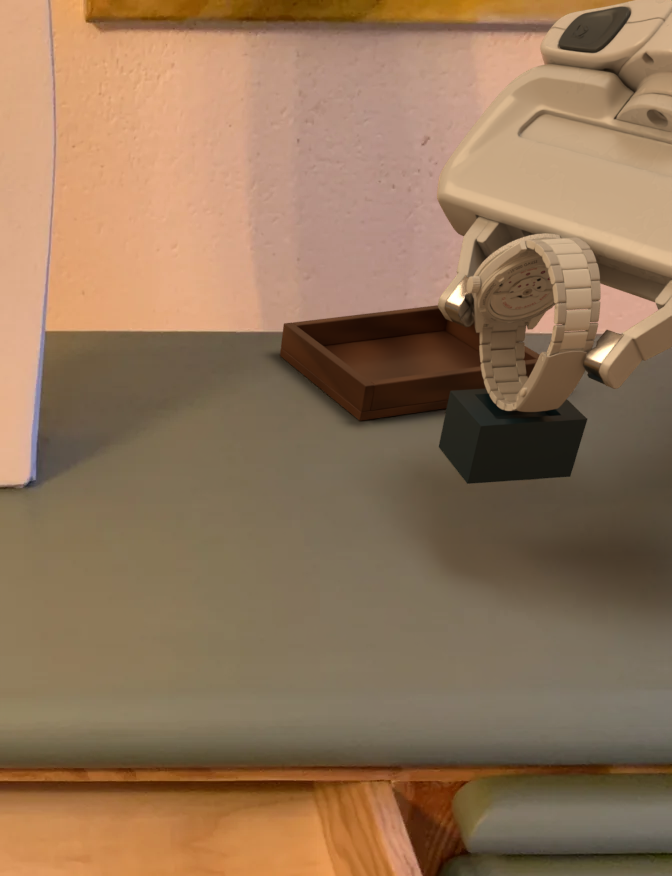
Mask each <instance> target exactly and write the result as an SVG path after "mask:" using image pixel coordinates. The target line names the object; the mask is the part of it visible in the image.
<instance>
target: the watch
mask: <svg viewBox="0 0 672 876" xmlns="http://www.w3.org/2000/svg"><path fill="white" fill-rule="evenodd" d="M599 280H600V274H599V268H598V264H597V263H596V258H595V256H594V253H593V251H592V250H590V247H589V245H588V244H587V243H586V242H584V241H582V240H581V239H579V238H576V237H574V238H560V236H559V235H557V234H556V235H555V234H548V233H547V234H546V233H545V234H543V233H542V234H534V235H529V236H526V237H523V238H520V239H517V240H515V241H512V242H510V243H508V244H506V245H504V246H502V247H501V248H499V249H498V250H497V251H495V252H494V253H492V254H491V255H490V256H489V257H488V258H486V260H484V262H482V264H481V265H480V266H479V268H478V269H477V270H476V272H475V274H474V276H471V277H469V279H468V281H467V291H468V293H472V295H473V298H474V320H475V330H476V333H479V332H480V344H484V345H480V346H479V350H480V362H481V371H482V376H483V379H484V384H485V387H486V389H471V390H455V391H450V395H449V399H448V404H447V408H445V415H444V419H443V424H442V428H441V429H442V430H441V433H440V439H439V442H438V448H439V450H440V452H442V453H443V455H444V457H445V458H446V459H447V460H448V461H449V462H450V464H451V466H453V468H455V471H457V472H458V475H460V476H461V478H462V479H463V480H464V482H465V483H466V484H467V485H468V484H469V485H472V484H473V485H474V484H488V483H503V482H513V481H514V482H515V481H530V480H531V481H532V480H545V479H561V478H571V477H572V473H573V469H574V467H575V464H576V460H577V456H578V452H579V450H580V446H581V442H582V440H583V435H584V432H585V429H586V426H587V423H588V418H587V417H586V416H585V414H583V413H582V412H581V411H580V410H579V409H578V408H577V407H576V406H574V404H573V403H572V402H570V401H569V399H568V398H569V397H570V396H571V394H572V393H573V392H574V391H575V389H576V387H577V386H578V384H579V383H580V381H581V380H582V378H583V376H584V374H585V372H586V370H585V369H584V367H583V361H584V358H585V356H586V354H587V353H588V352H589V351H590V350H591V349H593V348H594V344H595V339H596V337H597V332H598V328H599V320H600V314H601V297H602V296H601V295H602V293H601V284H600V281H599ZM553 307H554V308H553ZM551 309H554V311H553V312H554V313H553V316H554V317H553V323H554V325H553V327H552V331H551V339H550V342H549V345H548V347H547V350H546V351H541V352H540V354H539V355H540V356H539V358H538V360H537V362H536V364H535V367H534V369H533V371H532V372H531V374H530V376H529V378H528V377H527V376H526V366H525V361H524V360H523V359H524V356H525V346H526V343H525V342H524V341H525V340H526V332H527V330H533V329H534V328H536V327H537V325H539V322H540V321H541V320H542V318H543V317H544V315H545V314H546V313H547V312H548V311H549V310H551ZM516 342H517V343H516ZM496 349H506V350H496Z"/></svg>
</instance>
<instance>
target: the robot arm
mask: <svg viewBox="0 0 672 876" xmlns="http://www.w3.org/2000/svg"><path fill="white" fill-rule="evenodd" d="M539 51H540V54H541V57H542V62H543V64H542V65H537V66H534V67H532V68H529V69H528V70H526V71H524V72H523V73H521V74H519V75H518V76H517V77H515V78H514V79H513V80H511V82H509V84H508V85H507V86H505V88H504V89H502V90H501V92H500V93H499V94H498V95H497V96H496V97H495V99H494V100H493V101H492V102H491V103H490V104H489V106H487V108H486V109H485V110H484V112H483V113H482V114H481V116H479V118H478V119H477V120H476V122H475V123H474V124H473V126H472V127H471V128H470V129H469V131H468V132H467V133H466V134H465V136H464V137H463V138H462V140H461V142H460V143H458V145H457V147H456V148H455V149H454V151H453V152H452V154H451V155H450V157H449V158H448V159H447V161H446V162H445V164H444V166H443V167H442V169H441V171H440V173H439V175H438V182H437V186H436V187H437V189H436V200H437V202H438V204H439V206H440V208H441V210H442V212H443V214H444V215H445V217H446V219H447V221H448V222H449V224H450V225H451V227H452V229H453V230H454V232H456V233H457V234H458V235H460V236H462V237H463V238H462V244H461V247H460V253H459V258H458V262H457V267H456V275H455V277H454V278H453V279H452V280H451V281H450V283H449V284H448V286H447V287H446V288H445V289H444V291H443V292H442V294H441V295H440V296H439V298H438V302H437V305H438V308H439V309H440V311H441V313H442V314H443V316H444V317H445V319H447V320H450V321H452V322H454V323H457V324H459V325H462V326H464V327H470V326H472V325H473V324H474V323H475V320H474V298H473V295H472V293H468V291H467V281H468V279H469V277H471V276H474V274H475V272H476V270H477V269H478V268H479V266H480V265H481V264H482V262H484V260H486V258H488V257H489V256H490V255H491V254H492V253H494V252H495V251H497V250H498V249H499V248H501V247H502V246H504V245H506V244H508V243H510V242H512V241H515V240H517V239H520V238H523V237H526V236H529V235H534V234H542V233H543V234H545V233H546V234H547V233H548V234H555V235H556V234H557V235H559V236H560V238H574V237H576V238H579V239H581V240H582V241H584V242H586V243H587V244H588V245H589V247H590V250H592V251H593V253H594V256H595V258H596V263H597V264H598V268H599V274H600V280H599V281H600V285H603V286H607V287H609V288H613V289H614V290H618V291H621V292H623V293H627V294H629V295H633V296H635V297H638V298H640V299H644V300H647V301H649V302H652V303H655V306H656V308H657V310H656V311H655V312H653V313H651V314H649V316H647V317H645V318H644V319H641V320H640V321H639V322H637V323H636V324H634V325H633V326H631V327H629V328H628V329H626V330H625V331H623V332H621V333H618V332H615V331H613V330H610V329H605V331H603V333H602V335H601V336H600V337H599V338H598V339H597V341H596V345H595V347H592V349H591V350H590V351H589V352H588V353H587V354H586V356H585V358H584V361H583V367H584V369H585V372H586V373H587V375H586V376H587V377H588V379H590V380H593V381H595V382H598V383H600V384H602V385H604V386H606V387H607V388H611V389H614V390H617V389H619V388H621V387H622V386H623V385H624V383H625V382H626V381H627V379H628V378H629V377H630V376H631V375H632V374H633V372H634V371H635V370H636V369H637V368H638V366H639V365H640V363H642V361H644V362H646V361H648V360H649V359H650V360H651V359H652V358H653V357H655V356H658V355H659V354H661V353H663V352H665V351H667V350H669V349H671V348H672V0H629V1H626V2H621V3H617V4H612V5H607V6H603V7H596V8H591V9H584V10H579V11H573V12H570V13H567V14H565V15H563V16H562V17H560V18H559V19H557V20H556V22H554V24H553V25H552V26H551V27H550V29H549V30H548V31H547V33H546V34H545V36H544V37H543V39H542V41H541V43H540V45H539Z"/></svg>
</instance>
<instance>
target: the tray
mask: <svg viewBox="0 0 672 876" xmlns="http://www.w3.org/2000/svg"><path fill="white" fill-rule="evenodd" d="M282 327H283V329H282V334H281V335H282V336H281V342H280V351H279V352H280V353H279V356H280V357H281V358H282V359H283V360H284V361H286V362H288V364H289V365H291V366H292V367H293V368H294V369H296V370H297V371H298V372H299V373H301V374H302V375H303V376H304V377H305V378H306V379H308V380H309V381H310V382H312V383H313V384H314V385H316V387H318V388H319V389H320V390H321V391H322V392H323V393H325V394H326V395H327V396H328V397H330V398H331V399H332V400H333V401H335V402H336V403H337V404H338V405H340V406H341V407H342V408H343V409H345V411H347V412H348V413H349V414H351V415H352V416H353V417H355V418H356V419H357V420H358V421H359V422H361V421H366V420H367V421H368V420H374V419H380V418H388V417H395V416H402V415H409V414H410V415H411V414H416V413H423V412H430V411H437V410H444V409H445V410H446V409H447V404H448V399H449V395H450V391H455V390H471V389H486V387H485V384H484V379H483V376H482V371H481V362H480V350H479V346H480V345H484V344H480V332H479V333H476V330H475V323H474V324H473V325H472V326H470V327H464V326H462V325H459V324H457V323H454V322H452V321H450V320H447V319H445V317H444V316H443V314H442V313H441V311H440V309H439V308H438V304H437V305H436V304H435V305H428V306H427V305H426V306H420V307H410V308H403V309H396V310H386V311H377V312H369V313H361V314H353V315H343V316H336V317H327V318H319V319H311V320H303V321H301V320H300V321H294V322H286V323H285V322H284V323H283V326H282ZM516 343H517V342H516ZM496 350H506V349H496ZM539 356H540V354H539V353H538V352H536V351H534V350H533V349H531V348H529V347H528V346H526V345H525V356H524V359H523V360H524V361H525V366H526V376H527V377H528V378H529V376H530V374H531V372H532V371H533V369H534V367H535V364H536V362H537V360H538V358H539Z"/></svg>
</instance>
